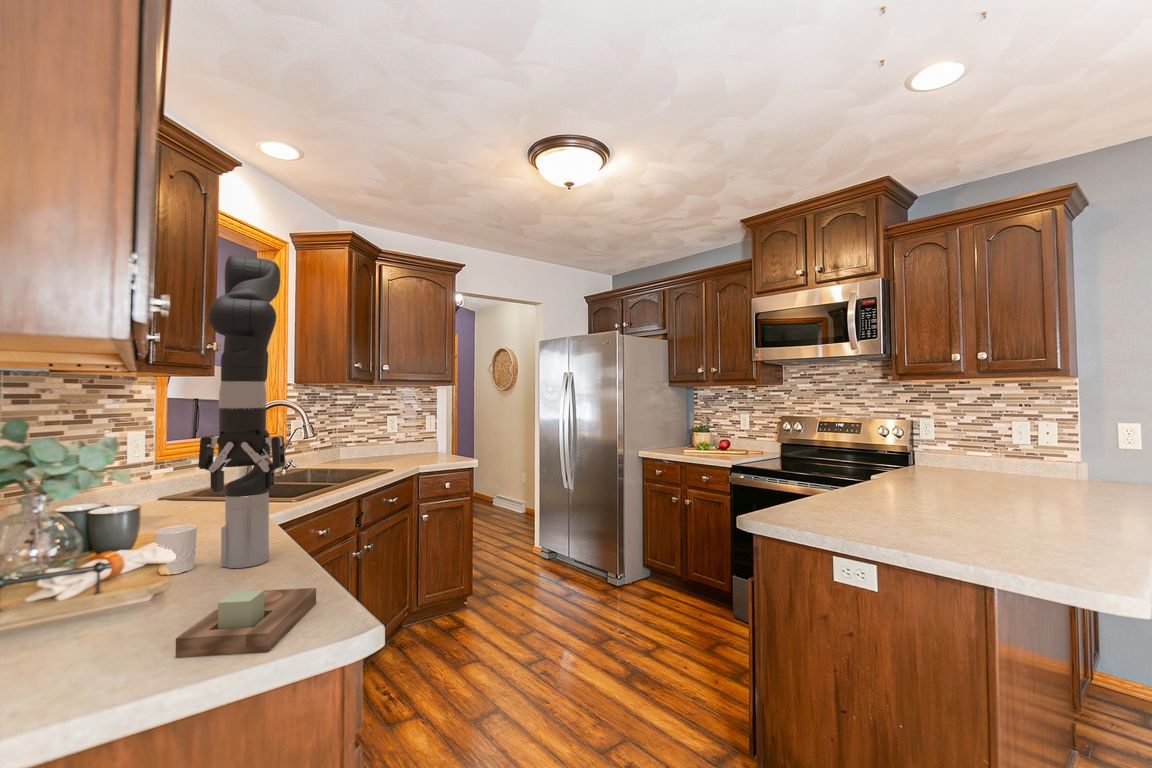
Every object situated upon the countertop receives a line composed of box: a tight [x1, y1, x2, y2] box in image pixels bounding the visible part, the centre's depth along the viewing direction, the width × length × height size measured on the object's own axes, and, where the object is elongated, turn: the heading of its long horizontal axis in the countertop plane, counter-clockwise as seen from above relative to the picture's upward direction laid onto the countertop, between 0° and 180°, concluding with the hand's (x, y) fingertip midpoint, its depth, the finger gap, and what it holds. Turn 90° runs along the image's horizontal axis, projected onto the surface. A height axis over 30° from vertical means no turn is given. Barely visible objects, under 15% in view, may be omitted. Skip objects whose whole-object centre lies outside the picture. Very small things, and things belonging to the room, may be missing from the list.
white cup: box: [155, 524, 198, 573], centre depth 126 cm, size 8×8×10 cm
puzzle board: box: [175, 587, 317, 658], centre depth 94 cm, size 14×20×4 cm
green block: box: [217, 589, 265, 629], centre depth 90 cm, size 5×5×6 cm
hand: (242, 491), depth 99 cm, fingers open, 8 cm apart
